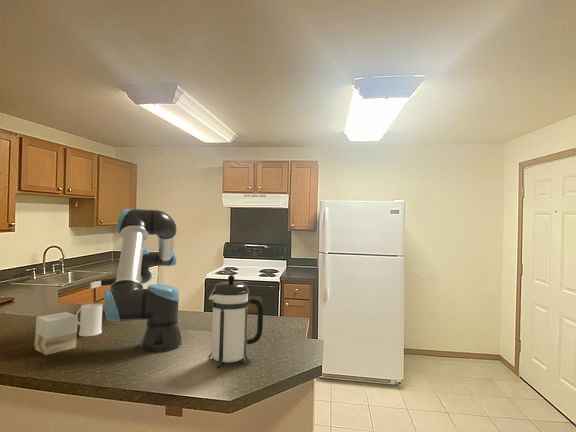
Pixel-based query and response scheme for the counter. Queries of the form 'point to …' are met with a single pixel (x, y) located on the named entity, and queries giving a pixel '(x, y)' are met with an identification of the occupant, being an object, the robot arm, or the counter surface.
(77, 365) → the counter surface
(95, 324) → the mug
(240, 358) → the coffee press
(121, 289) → the robot arm
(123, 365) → the counter surface
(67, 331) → the tower top
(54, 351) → the block
